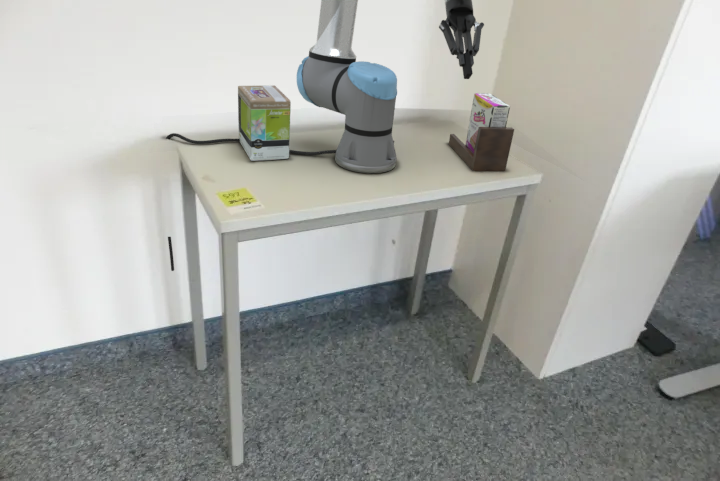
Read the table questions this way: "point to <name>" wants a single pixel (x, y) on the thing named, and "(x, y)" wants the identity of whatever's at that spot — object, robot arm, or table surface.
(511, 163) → the table surface
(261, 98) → the tea box
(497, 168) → the book rack
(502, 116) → the candy bar box
